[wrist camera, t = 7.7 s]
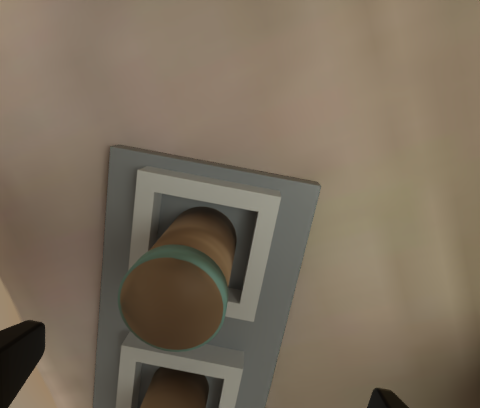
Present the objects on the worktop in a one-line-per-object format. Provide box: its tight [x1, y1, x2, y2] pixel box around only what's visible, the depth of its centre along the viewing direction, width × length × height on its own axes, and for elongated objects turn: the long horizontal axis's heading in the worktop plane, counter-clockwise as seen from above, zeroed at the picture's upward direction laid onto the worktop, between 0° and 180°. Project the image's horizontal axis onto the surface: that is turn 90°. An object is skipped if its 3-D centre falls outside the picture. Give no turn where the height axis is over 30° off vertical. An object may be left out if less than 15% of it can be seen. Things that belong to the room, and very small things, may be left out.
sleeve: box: [118, 207, 237, 352], centre depth 15 cm, size 4×4×7 cm
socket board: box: [93, 145, 321, 408], centre depth 20 cm, size 12×20×3 cm, turn 170°
